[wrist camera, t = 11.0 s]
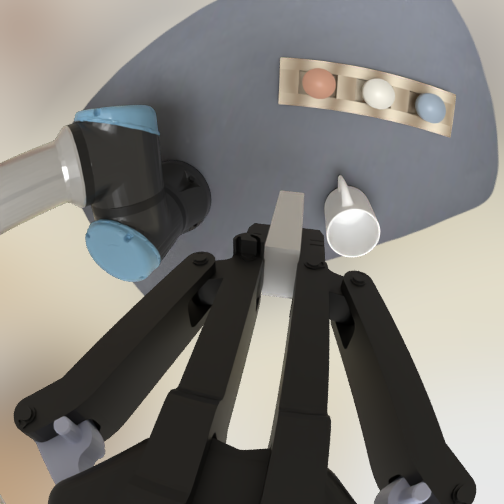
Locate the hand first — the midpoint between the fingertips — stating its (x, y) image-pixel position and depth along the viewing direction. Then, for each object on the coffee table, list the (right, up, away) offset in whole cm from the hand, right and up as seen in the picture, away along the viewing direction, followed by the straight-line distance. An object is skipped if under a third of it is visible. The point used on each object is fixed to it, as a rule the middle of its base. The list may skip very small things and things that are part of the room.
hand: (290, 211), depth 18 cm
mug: (+15, +7, +32) cm, 36 cm away
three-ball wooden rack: (+17, +24, +20) cm, 35 cm away
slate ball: (+26, +21, +17) cm, 37 cm away
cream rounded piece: (+17, +23, +18) cm, 33 cm away
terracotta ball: (+8, +24, +19) cm, 32 cm away
